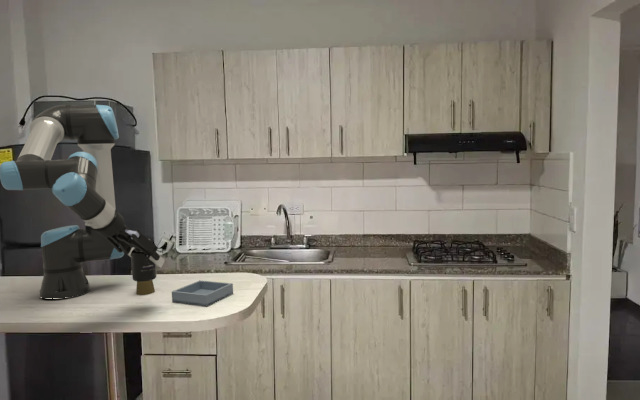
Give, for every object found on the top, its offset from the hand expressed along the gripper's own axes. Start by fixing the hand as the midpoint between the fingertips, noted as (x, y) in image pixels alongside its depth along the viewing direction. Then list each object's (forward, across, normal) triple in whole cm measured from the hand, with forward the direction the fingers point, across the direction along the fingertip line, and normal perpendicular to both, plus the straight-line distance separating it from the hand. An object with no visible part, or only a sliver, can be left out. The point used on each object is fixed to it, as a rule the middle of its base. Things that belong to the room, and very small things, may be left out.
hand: (152, 263), depth 139 cm
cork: (+16, -14, -3) cm, 22 cm away
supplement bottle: (+1, 0, -6) cm, 6 cm away
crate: (+17, +10, -2) cm, 20 cm away
